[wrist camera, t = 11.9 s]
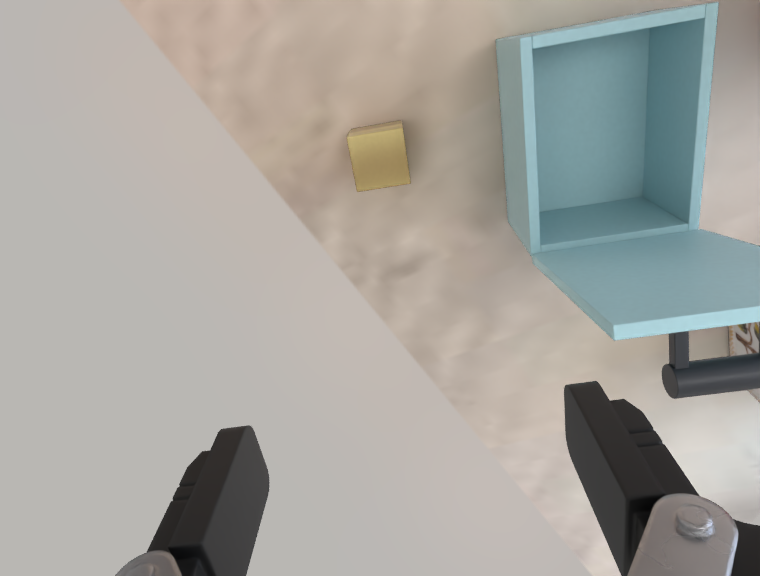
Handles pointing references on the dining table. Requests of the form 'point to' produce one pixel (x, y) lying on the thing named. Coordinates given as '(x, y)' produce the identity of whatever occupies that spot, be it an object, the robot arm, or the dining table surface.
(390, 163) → the block
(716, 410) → the dining table surface
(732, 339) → the decorative jar
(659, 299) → the freezer lid
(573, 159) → the box
